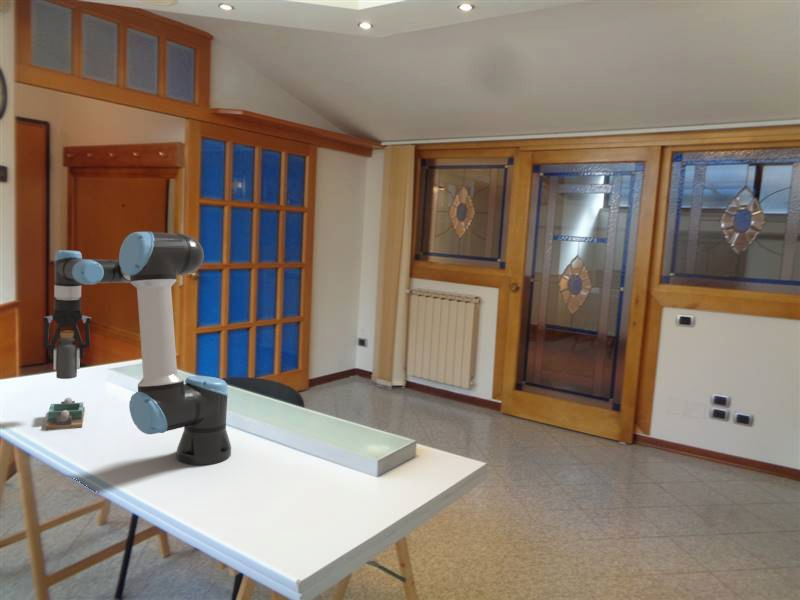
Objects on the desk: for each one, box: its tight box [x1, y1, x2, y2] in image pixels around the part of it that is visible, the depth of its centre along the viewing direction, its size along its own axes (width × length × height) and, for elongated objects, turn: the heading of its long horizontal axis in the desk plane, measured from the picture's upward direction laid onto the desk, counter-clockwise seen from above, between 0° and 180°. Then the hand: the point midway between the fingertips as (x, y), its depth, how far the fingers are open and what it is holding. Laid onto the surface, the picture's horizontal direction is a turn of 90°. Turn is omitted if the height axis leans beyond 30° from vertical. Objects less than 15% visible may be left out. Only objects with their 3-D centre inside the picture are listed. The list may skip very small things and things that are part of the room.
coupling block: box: [44, 397, 86, 431], centre depth 192 cm, size 19×10×5 cm, turn 26°
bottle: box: [55, 330, 78, 380], centre depth 191 cm, size 6×6×15 cm
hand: (66, 368), depth 191 cm, fingers closed on bottle, 6 cm apart
